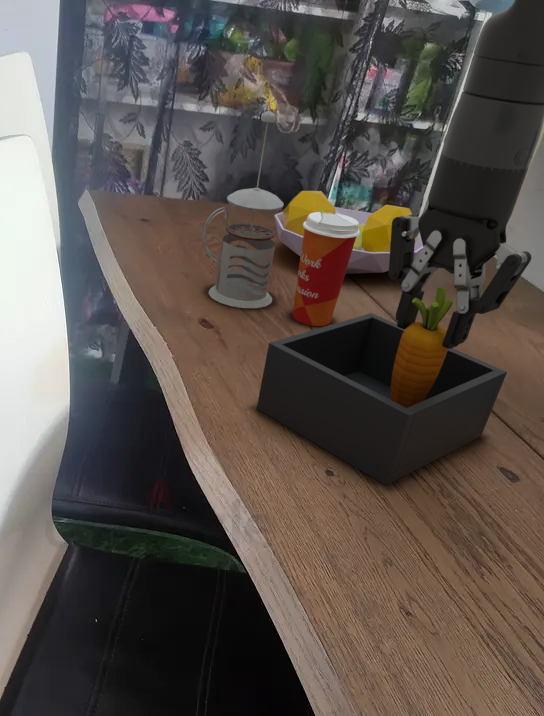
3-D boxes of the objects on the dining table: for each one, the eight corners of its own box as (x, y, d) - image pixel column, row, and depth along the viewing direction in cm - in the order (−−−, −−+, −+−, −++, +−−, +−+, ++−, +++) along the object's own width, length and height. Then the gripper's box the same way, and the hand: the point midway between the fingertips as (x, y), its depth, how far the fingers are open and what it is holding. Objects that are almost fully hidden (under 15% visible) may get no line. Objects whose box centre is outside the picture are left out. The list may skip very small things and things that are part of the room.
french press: (276, 310, 108) (312, 121, 93) (198, 304, 107) (221, 112, 92) (268, 287, 116) (300, 108, 101) (195, 281, 115) (216, 100, 100)
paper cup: (280, 306, 110) (299, 208, 101) (330, 309, 110) (353, 212, 102) (291, 327, 103) (312, 225, 95) (344, 330, 104) (369, 229, 96)
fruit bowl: (334, 231, 145) (348, 170, 138) (450, 276, 129) (472, 209, 122) (229, 248, 130) (239, 180, 123) (346, 301, 114) (364, 226, 107)
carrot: (402, 440, 78) (447, 304, 69) (366, 419, 81) (405, 286, 72) (430, 429, 81) (477, 296, 72) (395, 409, 84) (436, 279, 75)
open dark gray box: (354, 373, 93) (371, 312, 88) (481, 436, 83) (507, 371, 78) (256, 408, 83) (268, 342, 78) (385, 485, 73) (409, 415, 68)
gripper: (583, 171, 63) (509, 355, 73) (439, 136, 71) (391, 306, 81) (541, 178, 59) (469, 372, 69) (394, 140, 67) (348, 318, 77)
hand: (427, 335), depth 75 cm, fingers closed on carrot, 5 cm apart
